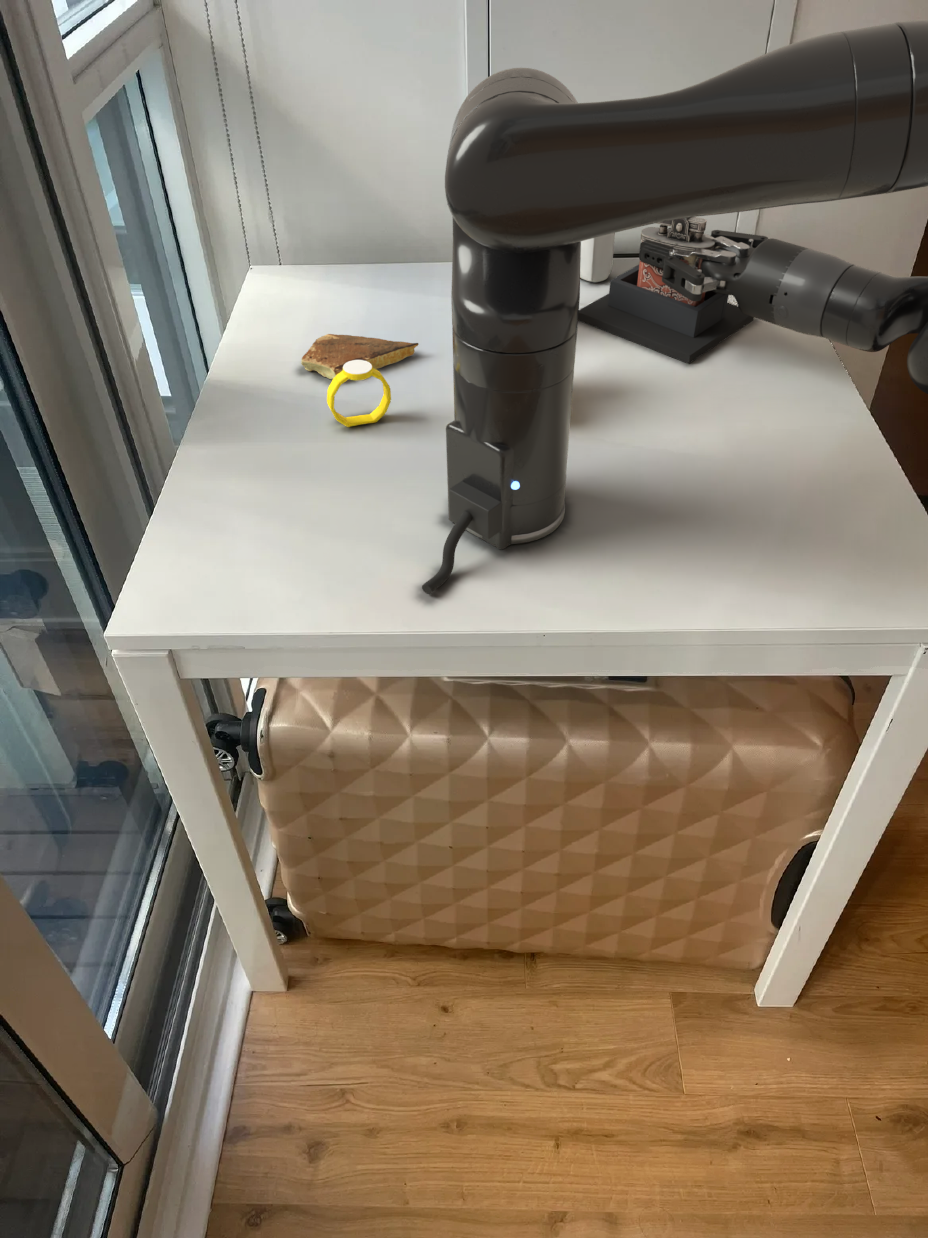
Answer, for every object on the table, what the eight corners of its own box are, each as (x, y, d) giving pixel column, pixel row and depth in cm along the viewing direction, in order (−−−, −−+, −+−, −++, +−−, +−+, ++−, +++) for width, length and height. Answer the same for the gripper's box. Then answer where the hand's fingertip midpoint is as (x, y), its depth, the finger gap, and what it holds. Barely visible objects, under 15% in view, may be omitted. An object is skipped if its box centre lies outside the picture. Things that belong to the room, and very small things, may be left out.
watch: (335, 435, 90) (328, 380, 86) (327, 421, 92) (320, 365, 88) (395, 422, 92) (390, 367, 87) (386, 408, 93) (382, 353, 89)
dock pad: (688, 363, 99) (694, 328, 96) (575, 319, 106) (578, 285, 104) (753, 320, 106) (760, 285, 103) (642, 281, 113) (646, 248, 110)
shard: (419, 355, 101) (418, 340, 100) (398, 391, 96) (396, 376, 94) (324, 344, 103) (322, 328, 102) (298, 379, 98) (295, 363, 97)
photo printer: (532, 259, 118) (536, 154, 109) (557, 250, 120) (563, 146, 111) (591, 287, 112) (600, 179, 104) (616, 276, 114) (627, 169, 105)
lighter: (708, 306, 104) (723, 213, 97) (697, 318, 102) (711, 224, 95) (641, 290, 107) (651, 199, 100) (628, 302, 105) (638, 210, 98)
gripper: (841, 228, 94) (694, 189, 103) (768, 275, 87) (616, 228, 96) (823, 300, 100) (684, 256, 108) (752, 349, 92) (610, 299, 101)
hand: (653, 243), depth 102 cm, fingers closed on lighter, 3 cm apart
